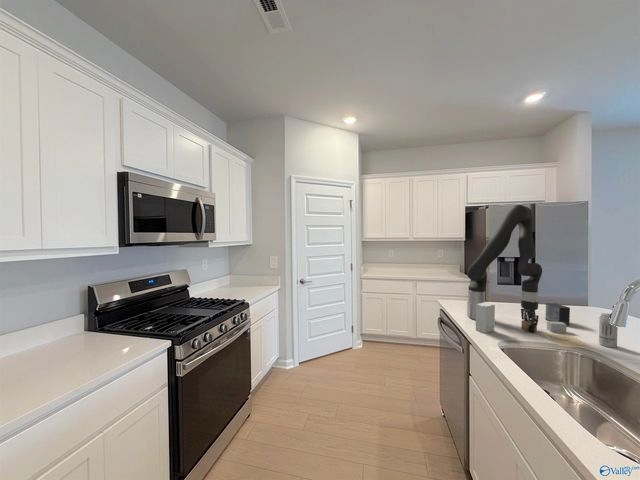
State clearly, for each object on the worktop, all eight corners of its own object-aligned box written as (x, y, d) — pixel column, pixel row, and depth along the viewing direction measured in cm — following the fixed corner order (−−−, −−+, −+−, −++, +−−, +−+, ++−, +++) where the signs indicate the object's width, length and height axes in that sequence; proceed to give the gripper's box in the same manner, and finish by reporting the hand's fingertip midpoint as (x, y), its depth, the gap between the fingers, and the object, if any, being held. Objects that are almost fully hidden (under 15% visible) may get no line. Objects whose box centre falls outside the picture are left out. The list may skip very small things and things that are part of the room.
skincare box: (484, 327, 158) (484, 301, 157) (495, 331, 152) (495, 304, 152) (474, 330, 154) (475, 303, 154) (485, 333, 149) (485, 306, 148)
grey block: (551, 332, 150) (551, 323, 150) (546, 330, 154) (546, 321, 154) (566, 333, 148) (566, 324, 148) (561, 331, 152) (561, 322, 152)
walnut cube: (526, 332, 150) (526, 323, 150) (521, 329, 155) (521, 320, 155) (536, 333, 149) (536, 323, 149) (531, 329, 154) (531, 321, 154)
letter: (560, 346, 132) (560, 345, 132) (539, 333, 149) (539, 332, 149) (595, 349, 129) (595, 348, 129) (569, 335, 146) (569, 334, 146)
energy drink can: (597, 345, 132) (598, 314, 132) (600, 342, 136) (601, 312, 135) (615, 350, 128) (616, 317, 127) (618, 346, 131) (619, 315, 131)
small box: (570, 325, 161) (571, 307, 161) (559, 325, 161) (559, 307, 161) (555, 319, 172) (555, 302, 171) (544, 319, 172) (545, 302, 171)
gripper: (515, 296, 159) (515, 325, 160) (528, 302, 145) (528, 334, 146) (530, 296, 158) (530, 326, 158) (545, 303, 144) (544, 335, 144)
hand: (529, 330), depth 152 cm, fingers closed on walnut cube, 5 cm apart
